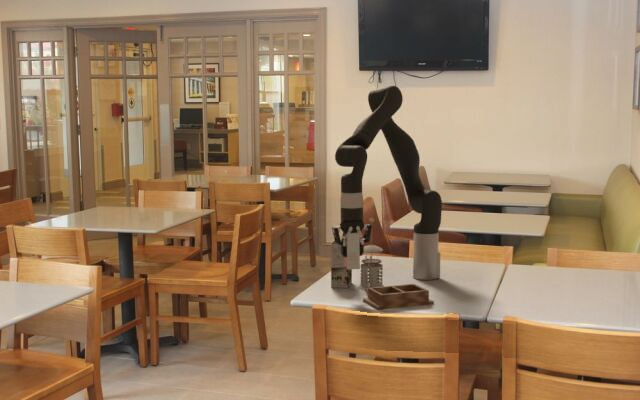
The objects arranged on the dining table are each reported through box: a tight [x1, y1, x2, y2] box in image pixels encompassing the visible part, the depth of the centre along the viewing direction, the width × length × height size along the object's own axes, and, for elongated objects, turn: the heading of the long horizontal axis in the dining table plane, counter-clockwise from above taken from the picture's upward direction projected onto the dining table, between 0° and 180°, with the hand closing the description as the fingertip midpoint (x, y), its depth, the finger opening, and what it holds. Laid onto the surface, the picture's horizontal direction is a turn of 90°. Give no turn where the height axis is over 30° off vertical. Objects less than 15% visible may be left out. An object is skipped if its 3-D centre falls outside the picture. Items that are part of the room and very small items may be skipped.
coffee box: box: [330, 239, 353, 289], centre depth 275 cm, size 9×6×16 cm
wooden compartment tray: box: [362, 283, 435, 311], centre depth 251 cm, size 20×12×4 cm, turn 110°
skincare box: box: [345, 233, 361, 270], centre depth 255 cm, size 6×4×12 cm
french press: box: [357, 217, 385, 292], centre depth 270 cm, size 10×12×25 cm
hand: (352, 255), depth 255 cm, fingers closed on skincare box, 5 cm apart
